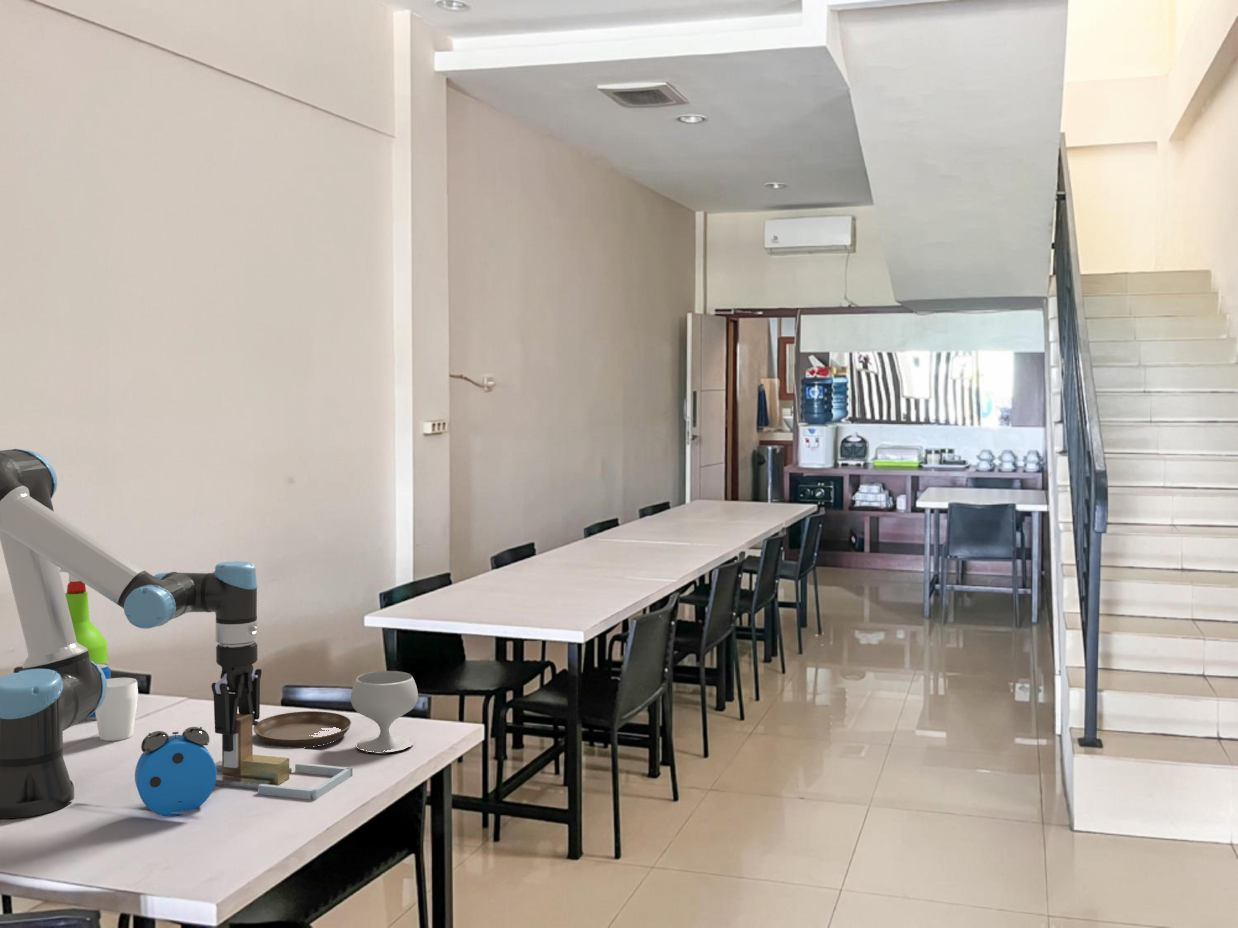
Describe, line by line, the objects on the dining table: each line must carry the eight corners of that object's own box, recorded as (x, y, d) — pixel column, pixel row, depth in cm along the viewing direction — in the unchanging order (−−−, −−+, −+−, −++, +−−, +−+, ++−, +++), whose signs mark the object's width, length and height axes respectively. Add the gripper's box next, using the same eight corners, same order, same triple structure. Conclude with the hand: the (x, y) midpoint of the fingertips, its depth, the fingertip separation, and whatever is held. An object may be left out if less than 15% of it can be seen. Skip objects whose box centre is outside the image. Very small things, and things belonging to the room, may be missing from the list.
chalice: (431, 743, 246) (431, 674, 245) (387, 760, 234) (386, 688, 233) (382, 733, 253) (382, 666, 252) (336, 749, 241) (336, 679, 240)
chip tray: (315, 804, 207) (315, 791, 207) (258, 798, 210) (258, 785, 210) (352, 780, 221) (352, 767, 221) (297, 775, 224) (297, 762, 224)
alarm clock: (211, 800, 209) (211, 720, 208) (217, 811, 204) (216, 728, 203) (134, 812, 203) (133, 729, 202) (138, 823, 197) (137, 738, 197)
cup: (146, 731, 252) (145, 678, 252) (125, 743, 243) (124, 688, 243) (107, 729, 253) (107, 676, 253) (84, 741, 244) (84, 686, 244)
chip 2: (278, 785, 215) (278, 764, 215) (259, 783, 216) (259, 762, 216) (289, 778, 219) (289, 757, 219) (270, 776, 220) (270, 756, 220)
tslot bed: (263, 794, 212) (263, 784, 212) (188, 786, 216) (188, 776, 216) (291, 778, 222) (291, 768, 222) (219, 770, 226) (219, 760, 226)
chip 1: (259, 783, 216) (259, 762, 216) (240, 781, 217) (240, 760, 217) (270, 776, 220) (270, 756, 220) (252, 774, 221) (252, 754, 221)
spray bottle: (124, 696, 282) (122, 556, 280) (43, 702, 276) (41, 558, 274) (129, 683, 295) (127, 549, 293) (52, 688, 289) (50, 551, 287)
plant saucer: (358, 747, 243) (358, 731, 243) (257, 757, 236) (257, 741, 236) (344, 721, 263) (344, 707, 262) (250, 730, 255) (250, 715, 255)
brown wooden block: (222, 775, 218) (222, 718, 217) (234, 768, 222) (234, 712, 221) (240, 777, 217) (240, 720, 216) (252, 770, 221) (252, 714, 220)
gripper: (228, 653, 209) (229, 778, 210) (278, 635, 225) (279, 751, 227) (192, 650, 211) (194, 775, 212) (244, 633, 227) (246, 748, 228)
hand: (238, 762), depth 219 cm, fingers closed on brown wooden block, 4 cm apart
